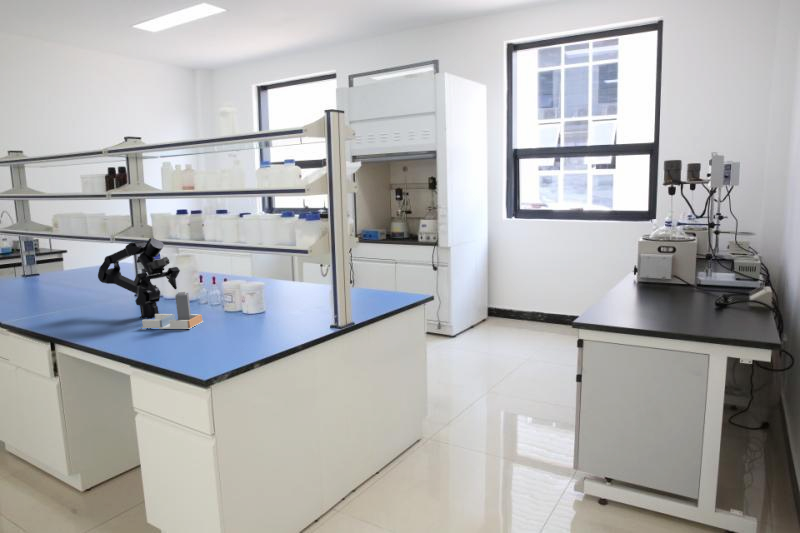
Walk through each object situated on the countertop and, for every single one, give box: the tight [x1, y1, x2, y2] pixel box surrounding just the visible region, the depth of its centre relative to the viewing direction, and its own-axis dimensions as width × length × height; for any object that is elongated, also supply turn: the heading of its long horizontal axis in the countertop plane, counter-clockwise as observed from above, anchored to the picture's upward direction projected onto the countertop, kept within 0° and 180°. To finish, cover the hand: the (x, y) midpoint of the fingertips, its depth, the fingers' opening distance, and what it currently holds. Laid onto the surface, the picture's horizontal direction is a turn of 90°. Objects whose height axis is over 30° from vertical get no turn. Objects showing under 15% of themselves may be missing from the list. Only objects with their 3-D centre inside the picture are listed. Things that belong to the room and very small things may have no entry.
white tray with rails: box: [140, 313, 204, 329], centre depth 224 cm, size 22×11×4 cm, turn 80°
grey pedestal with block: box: [175, 290, 192, 320], centre depth 222 cm, size 4×4×14 cm
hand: (166, 290), depth 230 cm, fingers open, 9 cm apart
